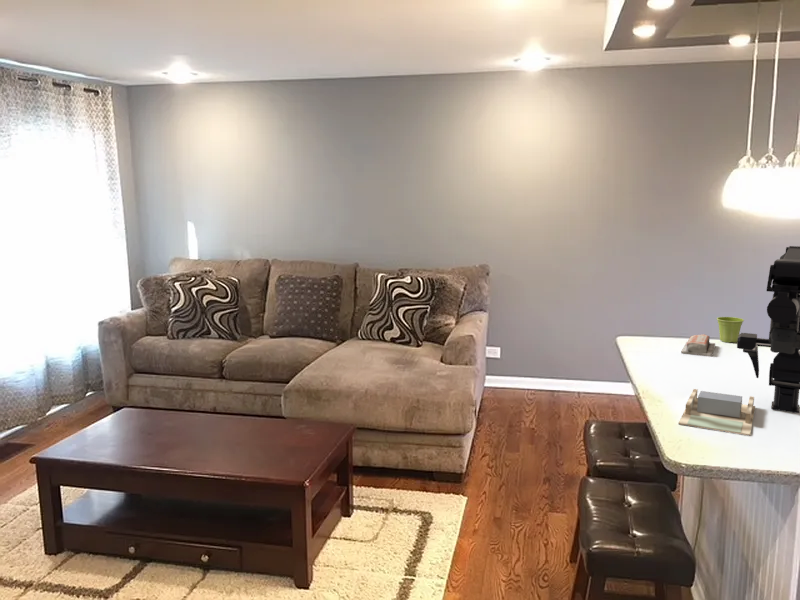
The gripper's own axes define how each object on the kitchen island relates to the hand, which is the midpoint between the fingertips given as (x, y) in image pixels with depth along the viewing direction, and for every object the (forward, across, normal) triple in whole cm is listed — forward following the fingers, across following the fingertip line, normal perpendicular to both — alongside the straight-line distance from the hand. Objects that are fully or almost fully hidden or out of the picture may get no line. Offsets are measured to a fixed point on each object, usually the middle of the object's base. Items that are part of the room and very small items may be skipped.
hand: (779, 380), depth 160 cm
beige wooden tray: (+14, -13, +10) cm, 21 cm away
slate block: (+14, -13, +12) cm, 23 cm away
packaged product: (+16, -25, +85) cm, 90 cm away
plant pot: (+16, -17, +105) cm, 107 cm away
